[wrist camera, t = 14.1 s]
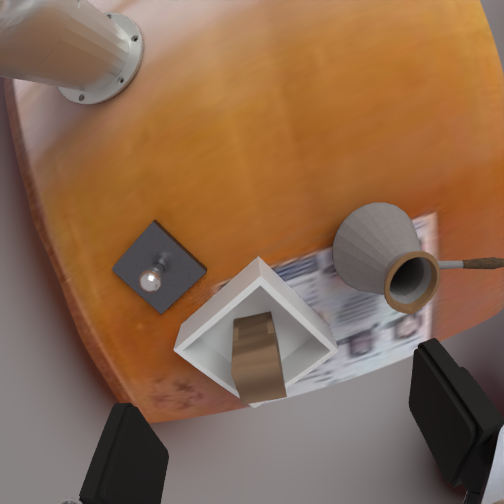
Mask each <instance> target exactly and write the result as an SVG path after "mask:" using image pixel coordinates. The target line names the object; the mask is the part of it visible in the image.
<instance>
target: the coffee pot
mask: <svg viewBox="0 0 504 504" xmlns="http://www.w3.org/2000/svg"><path fill="white" fill-rule="evenodd" d="M332 257H333V261H334V266H335V269H336V271H337V273H338V274H339V276H340V278H341V279H342V280H343V281H344V282H345V283H346V284H347V285H349V286H351V287H353V288H355V289H357V290H360V291H365V292H371V293H376V294H382V295H385V299H386V301H387V303H388V304H389V306H390V307H391V308H393V309H395V310H396V311H399V312H402V313H406V314H413V313H415V312H416V311H418V310H419V309H421V308H422V307H423V306H424V305H426V304H427V303H428V302H429V301H430V300H431V298H432V297H433V295H434V294H435V292H436V290H437V288H438V286H439V282H440V269H451V268H466V269H496V268H500V267H504V259H501V258H494V257H491V258H481V259H470V260H463V261H436V259H435V258H434V256H432V255H431V254H429V253H427V252H424V251H422V250H421V247H420V243H419V240H418V236H417V233H416V230H415V228H414V225H413V222H412V221H411V219H410V218H409V217H408V215H407V214H406V213H405V212H404V211H403V210H401V209H400V208H398V207H397V206H395V205H391V204H388V203H371V204H367V205H364V206H361V207H360V208H358V209H357V210H355V211H353V212H352V213H351V214H350V215H349V216H348V217H347V218H346V219H345V220H344V221H343V222H342V224H341V226H340V227H339V229H338V231H337V232H336V236H335V239H334V242H333V254H332Z"/></svg>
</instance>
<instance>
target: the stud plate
mask: <svg viewBox="0 0 504 504" xmlns="http://www.w3.org/2000/svg"><path fill="white" fill-rule="evenodd" d="M112 270H113V271H114V272H115V273H116V274H117V275H118V276H119V277H120V278H121V279H122V280H123V281H124V282H126V283H127V284H128V285H129V286H130V287H131V288H132V289H133V290H134V291H135V292H137V293H138V294H139V295H140V296H141V297H142V298H143V299H144V300H146V301H147V302H148V303H149V304H150V305H151V306H152V307H154V308H155V309H156V310H157V311H158V312H159V313H160V314H162V313H163V312H164V311H165V310H166V309H168V308H169V307H170V306H171V305H172V304H173V303H174V302H175V301H176V300H177V299H178V298H179V297H180V296H181V295H182V294H183V293H184V292H186V291H187V290H188V289H189V288H190V287H191V286H192V285H193V284H194V283H195V282H196V281H197V280H198V279H199V278H200V277H202V276H203V275H204V274H205V273H206V272H207V268H206V267H205V266H204V265H203V264H202V263H200V262H199V261H198V260H197V259H196V258H195V257H194V256H193V255H192V254H191V253H190V252H189V251H188V250H187V249H186V248H184V247H183V246H182V245H181V244H180V243H179V242H178V241H177V240H176V239H175V238H174V237H173V236H172V235H171V234H170V233H169V232H168V231H167V230H166V229H165V228H163V227H162V226H161V225H160V224H159V223H158V222H157V221H156V220H154V221H153V222H152V223H151V224H150V225H149V226H148V228H147V229H146V230H145V231H144V232H143V233H142V234H141V235H140V237H139V238H138V239H137V240H136V241H135V242H134V243H133V245H132V246H131V247H130V248H129V249H128V250H127V251H126V253H125V254H124V255H123V256H122V257H121V258H120V260H119V261H118V262H117V263H116V264H115V266H114V267H113V268H112Z"/></svg>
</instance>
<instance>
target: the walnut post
mask: <svg viewBox="0 0 504 504" xmlns="http://www.w3.org/2000/svg"><path fill="white" fill-rule="evenodd" d="M231 375H232V378H233V381H234V383H235V386H236V389H237V391H238V394H239V396H240V399H241V402H242V404H243V405H245V404H251V403H257V402H263V401H268V400H274V399H279V398H284V397H287V396H286V389H285V383H284V376H283V370H282V363H281V357H280V350H279V344H278V339H277V335H276V331H275V326H274V322H273V318H272V314H271V311H270V312H265V313H261V314H256V315H251V316H246V317H241V318H236V319H234V322H233V342H232V363H231Z"/></svg>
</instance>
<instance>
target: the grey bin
mask: <svg viewBox="0 0 504 504" xmlns="http://www.w3.org/2000/svg"><path fill="white" fill-rule="evenodd" d="M270 311H271V314H272V318H273V322H274V326H275V331H276V335H277V339H278V344H279V350H280V357H281V363H282V370H283V376H284V383H285V389H286V388H287V387H289V386H290V385H292V384H293V383H295V382H296V381H298V380H299V379H301V378H302V377H304V376H305V375H306V374H308V373H309V372H311V371H312V370H313V369H315V368H316V367H318V366H319V365H320V364H322V363H323V362H325V361H326V360H327V359H329V358H330V357H331V356H333V355H334V354H335V353H337V352H338V351H339V349H338V346H337V344H336V341H335V339H334V337H333V334H332V332H331V329H330V327H329V325H328V324H327V323H326V322H325V321H324V320H323V319H322V318H321V317H320V316H319V315H318V314H317V313H316V312H315V311H314V310H313V309H312V308H311V307H310V306H309V305H308V304H307V303H306V302H305V301H304V300H303V299H301V298H300V297H299V296H298V295H297V294H296V293H295V292H294V291H293V290H292V289H291V288H290V287H289V286H288V285H287V284H286V283H285V282H284V281H283V280H282V279H281V278H280V277H279V276H278V275H277V274H276V273H275V272H274V271H273V270H272V269H271V268H270V267H269V266H268V265H267V264H266V263H265V262H264V261H263V260H262V259H261V258H260V257H259V256H258V257H257V258H255V259H254V260H253V261H252V262H251V263H250V264H249V265H248V266H246V267H245V268H244V269H243V270H242V271H241V272H240V273H239V274H237V275H236V276H235V277H234V278H233V279H232V280H231V281H230V282H229V283H227V284H226V285H225V286H224V287H223V288H222V289H221V290H220V291H218V292H217V293H216V294H215V295H214V296H213V297H212V298H211V299H209V300H208V301H207V302H206V303H205V304H204V305H203V306H202V307H200V308H199V309H198V310H197V311H196V312H195V313H194V314H192V315H191V316H190V317H189V318H188V319H187V320H186V321H185V322H183V323H182V324H181V327H180V330H179V333H178V337H177V340H176V343H175V346H174V351H175V352H176V353H178V354H179V355H180V356H182V357H183V358H184V359H185V360H187V361H188V362H189V363H191V364H192V365H193V366H195V367H196V368H197V369H199V370H200V371H201V372H203V373H204V374H206V375H207V376H208V377H210V378H211V379H212V380H214V381H215V382H217V383H218V384H220V385H221V386H222V387H224V388H225V389H227V390H228V391H230V392H231V393H232V394H234V395H235V396H237V397H238V398H240V396H239V394H238V391H237V389H236V386H235V383H234V381H233V378H232V375H231V363H232V342H233V322H234V319H236V318H241V317H246V316H251V315H256V314H261V313H265V312H270ZM264 402H266V401H263V402H257V403H251V404H249V405H250V406H252V407H254V408H256V407H258V406H260V405H261V404H263V403H264Z"/></svg>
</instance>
